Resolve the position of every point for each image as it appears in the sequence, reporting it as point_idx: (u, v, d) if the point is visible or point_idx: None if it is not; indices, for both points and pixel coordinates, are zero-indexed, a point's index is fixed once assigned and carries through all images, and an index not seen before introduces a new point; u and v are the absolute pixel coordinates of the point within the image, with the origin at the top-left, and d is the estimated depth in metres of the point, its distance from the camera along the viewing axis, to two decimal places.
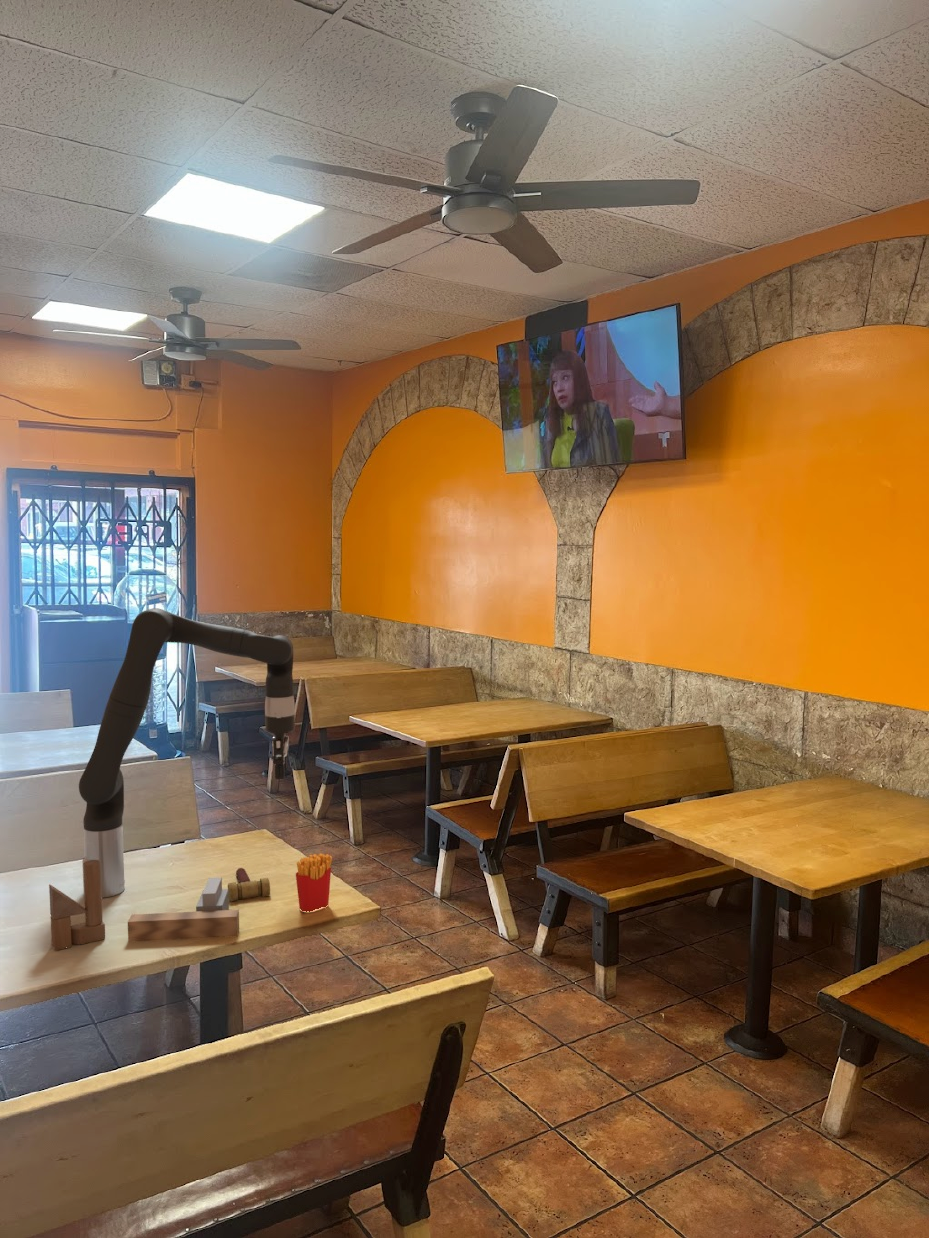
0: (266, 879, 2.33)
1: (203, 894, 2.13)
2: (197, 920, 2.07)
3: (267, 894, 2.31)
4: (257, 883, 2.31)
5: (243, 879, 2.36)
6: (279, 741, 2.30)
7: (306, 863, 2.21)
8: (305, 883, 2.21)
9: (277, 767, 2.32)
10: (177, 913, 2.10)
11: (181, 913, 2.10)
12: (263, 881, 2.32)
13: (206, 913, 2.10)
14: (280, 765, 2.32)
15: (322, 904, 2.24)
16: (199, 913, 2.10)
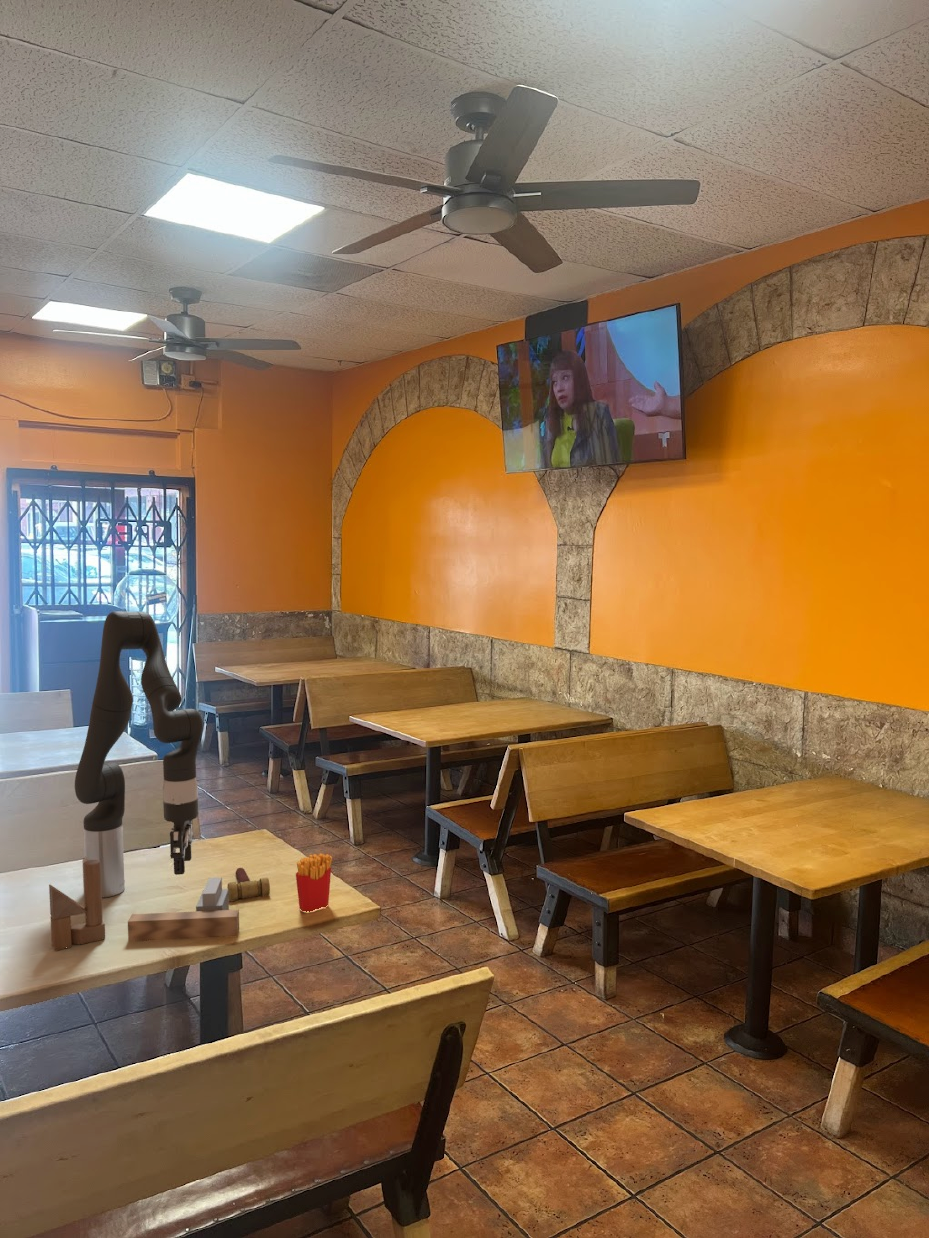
0: (266, 879, 2.33)
1: (203, 894, 2.13)
2: (197, 920, 2.07)
3: (267, 894, 2.32)
4: (257, 883, 2.32)
5: (243, 879, 2.37)
6: (177, 832, 2.01)
7: (306, 863, 2.21)
8: (305, 883, 2.21)
9: (176, 861, 2.02)
10: (177, 913, 2.10)
11: (181, 913, 2.10)
12: (262, 881, 2.32)
13: (206, 913, 2.10)
14: (179, 859, 2.02)
15: (322, 904, 2.24)
16: (199, 913, 2.10)
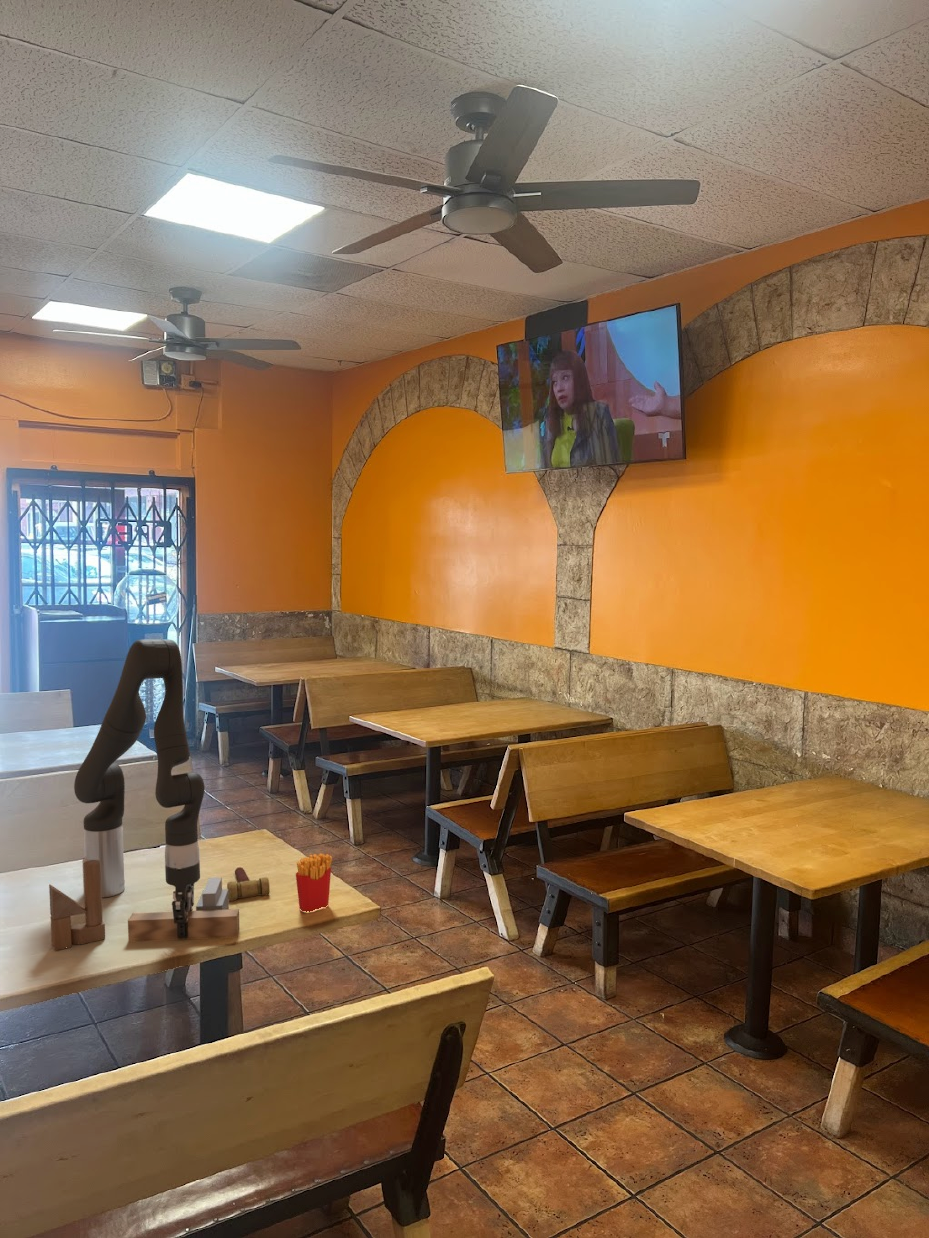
0: (265, 878, 2.33)
1: (203, 894, 2.13)
2: (197, 919, 2.07)
3: (266, 893, 2.32)
4: (256, 882, 2.32)
5: (242, 878, 2.37)
6: (179, 903, 2.02)
7: (306, 863, 2.21)
8: (305, 883, 2.21)
9: (179, 926, 2.06)
10: None
11: None
12: (262, 880, 2.32)
13: (207, 912, 2.10)
14: (182, 923, 2.06)
15: (322, 904, 2.24)
16: (199, 912, 2.10)
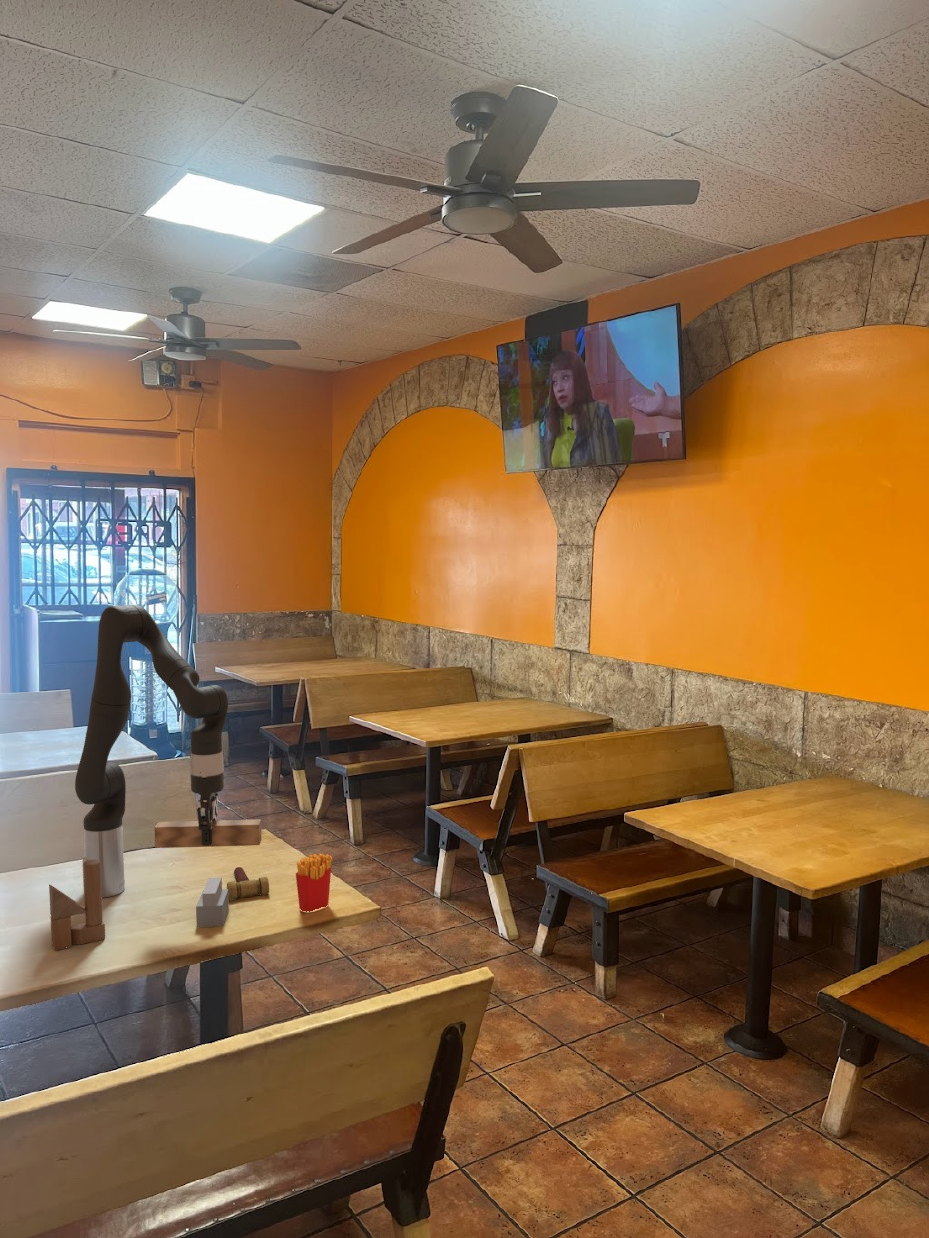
0: (265, 878, 2.33)
1: (203, 894, 2.13)
2: (221, 827, 2.15)
3: (266, 893, 2.32)
4: (256, 882, 2.32)
5: (242, 878, 2.37)
6: (204, 809, 2.09)
7: (306, 863, 2.21)
8: (305, 883, 2.21)
9: (204, 833, 2.13)
10: None
11: None
12: (262, 880, 2.33)
13: (230, 822, 2.17)
14: (207, 830, 2.13)
15: (322, 904, 2.24)
16: (223, 821, 2.17)
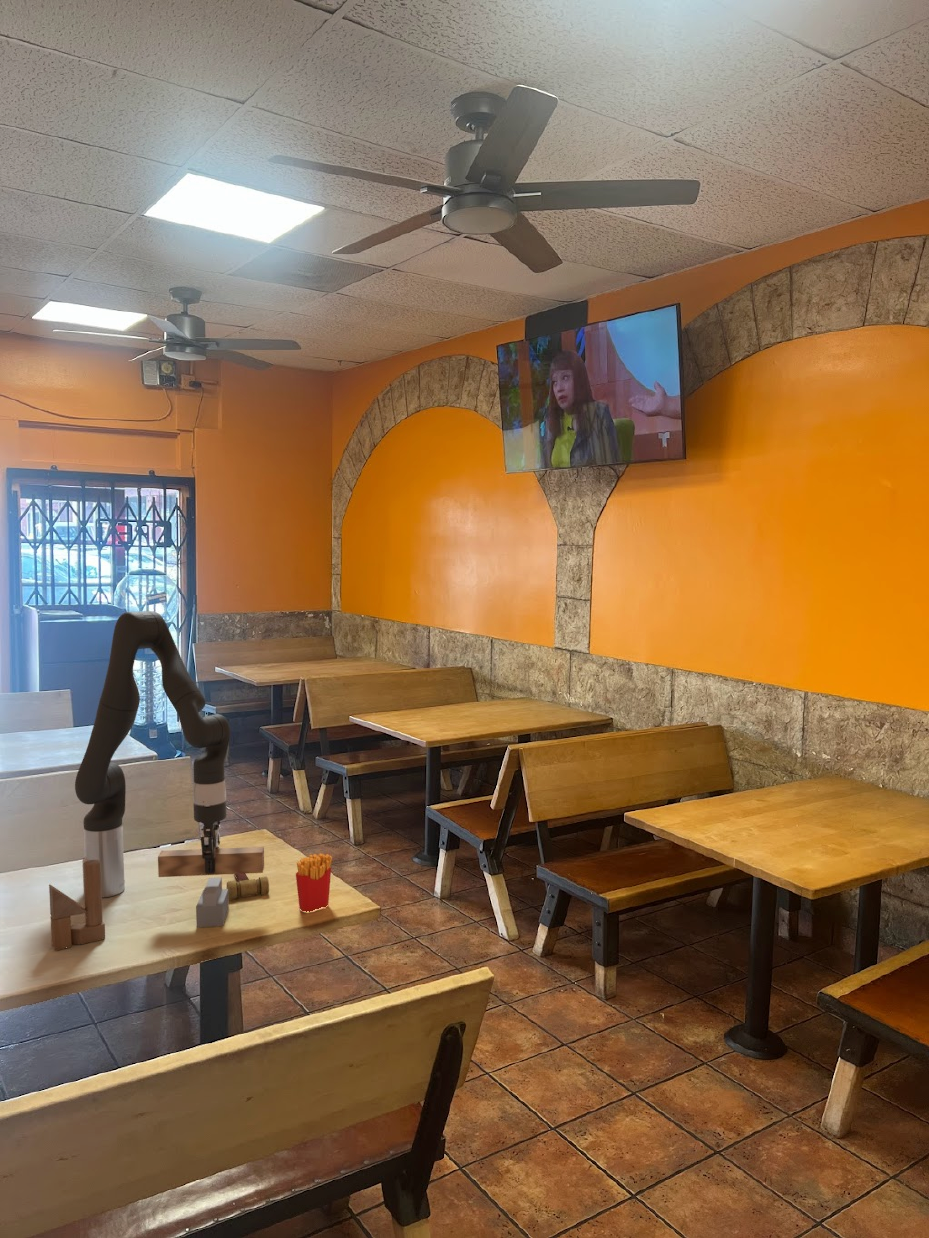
0: (265, 877, 2.34)
1: (203, 894, 2.13)
2: (224, 855, 2.16)
3: (266, 892, 2.33)
4: (256, 881, 2.32)
5: (241, 878, 2.37)
6: (207, 838, 2.11)
7: (306, 863, 2.21)
8: (305, 883, 2.21)
9: (207, 861, 2.14)
10: None
11: None
12: (262, 879, 2.33)
13: (233, 849, 2.19)
14: (210, 859, 2.14)
15: (322, 904, 2.24)
16: (226, 849, 2.19)
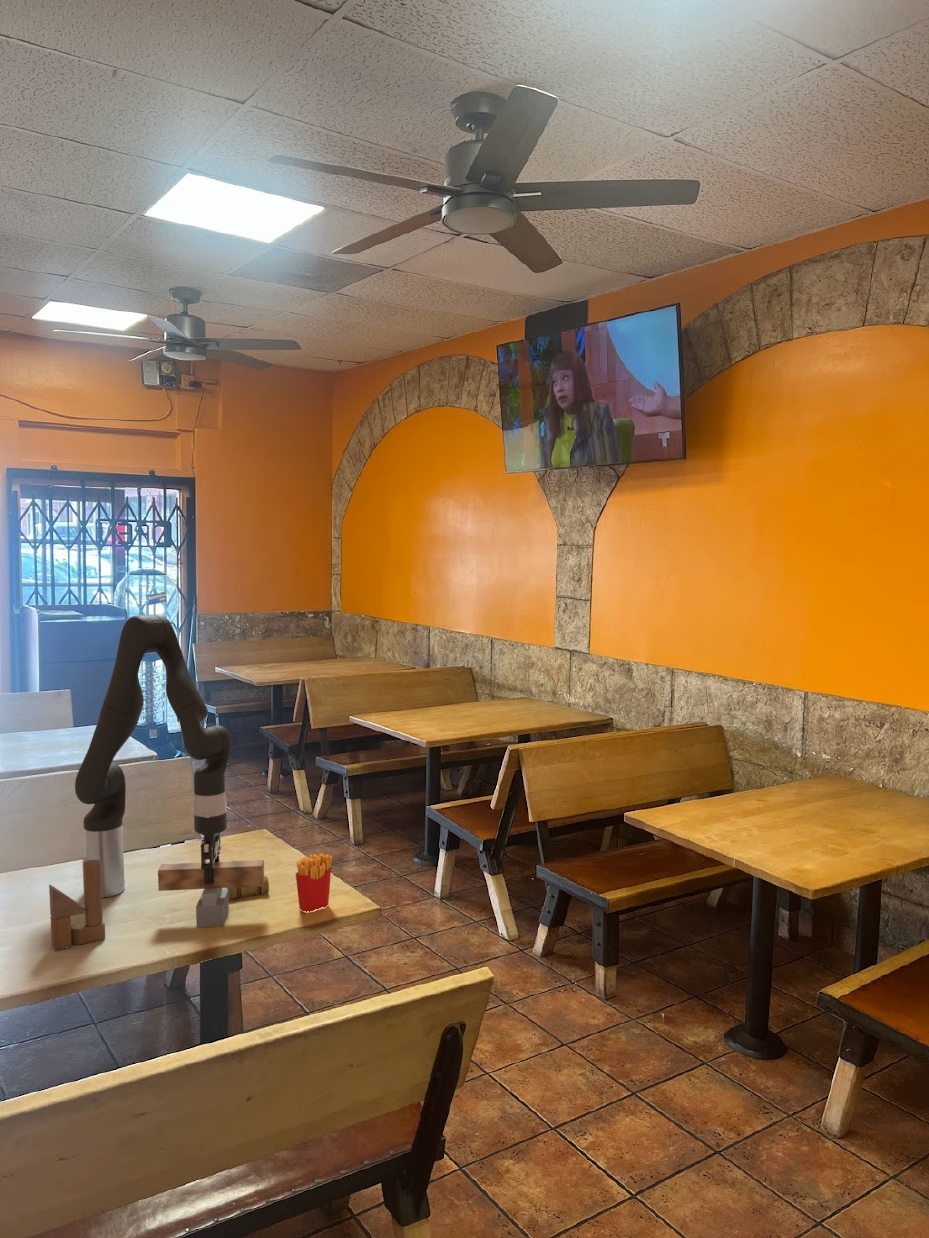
0: (265, 877, 2.34)
1: (203, 894, 2.13)
2: (224, 869, 2.16)
3: (266, 892, 2.33)
4: None
5: None
6: (207, 845, 2.11)
7: (306, 863, 2.21)
8: (305, 883, 2.21)
9: (206, 872, 2.13)
10: None
11: (209, 863, 2.19)
12: None
13: (233, 863, 2.19)
14: (209, 870, 2.12)
15: (322, 904, 2.24)
16: (226, 863, 2.19)
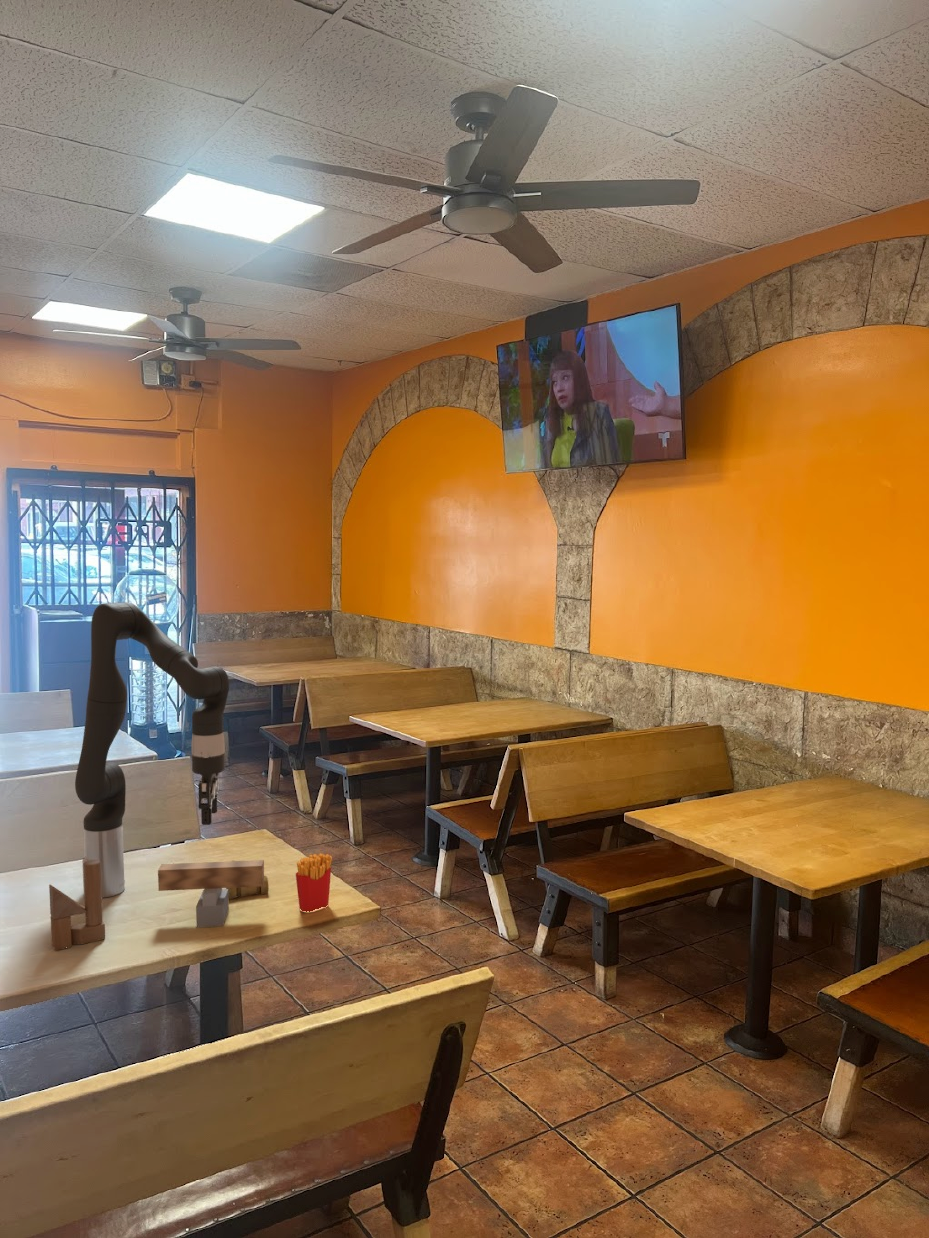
0: (264, 877, 2.34)
1: (203, 894, 2.13)
2: (224, 869, 2.16)
3: (265, 892, 2.33)
4: None
5: None
6: (205, 784, 2.10)
7: (306, 863, 2.21)
8: (305, 883, 2.21)
9: (203, 812, 2.12)
10: (205, 863, 2.19)
11: (209, 863, 2.19)
12: None
13: (233, 863, 2.19)
14: (207, 810, 2.12)
15: (322, 904, 2.24)
16: (226, 863, 2.19)
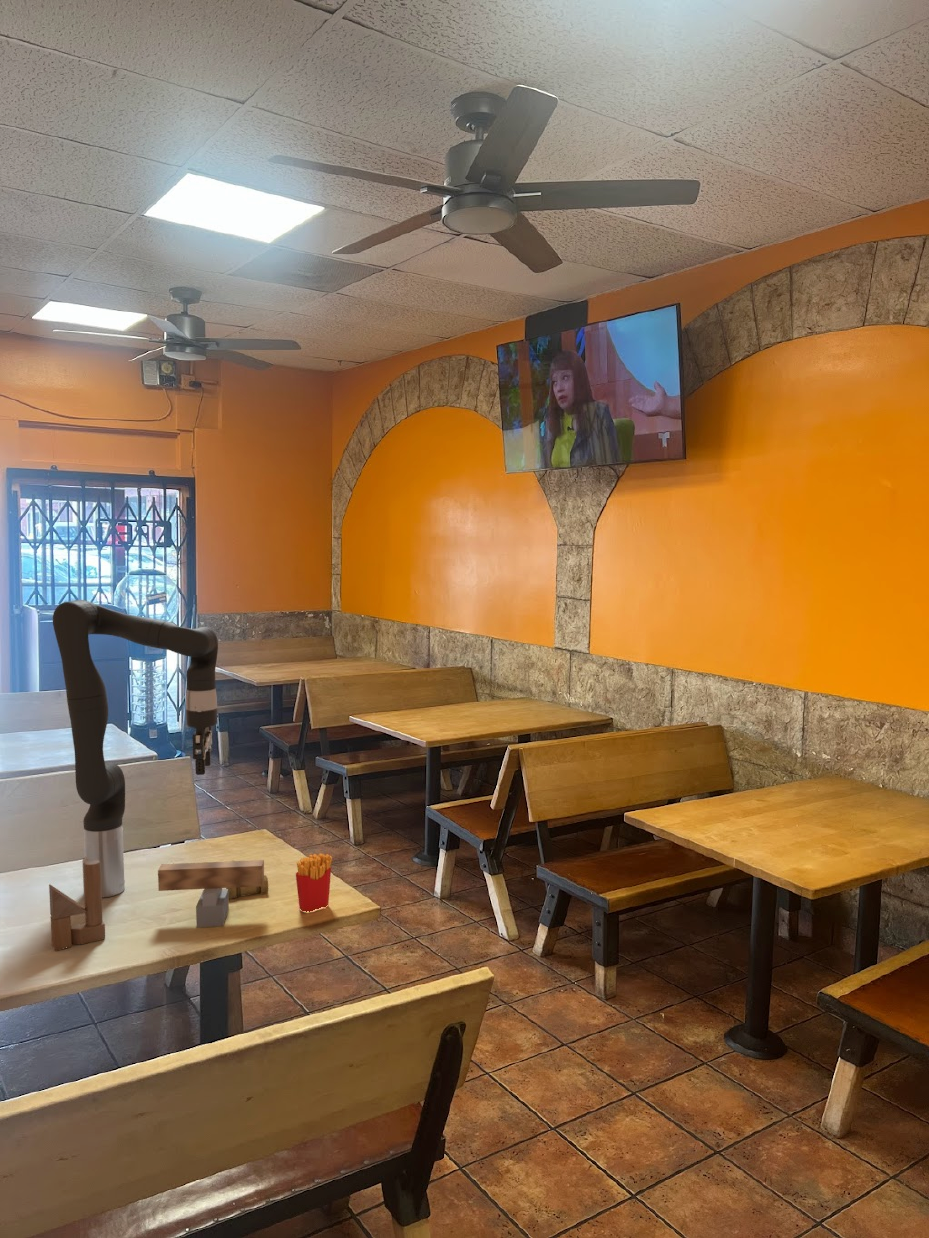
0: (264, 876, 2.34)
1: (203, 894, 2.13)
2: (224, 869, 2.16)
3: (265, 891, 2.33)
4: None
5: None
6: (199, 736, 2.24)
7: (306, 863, 2.21)
8: (305, 883, 2.21)
9: (197, 762, 2.26)
10: (205, 863, 2.19)
11: (209, 863, 2.19)
12: None
13: (233, 863, 2.19)
14: (200, 760, 2.26)
15: (322, 904, 2.24)
16: (226, 863, 2.19)
